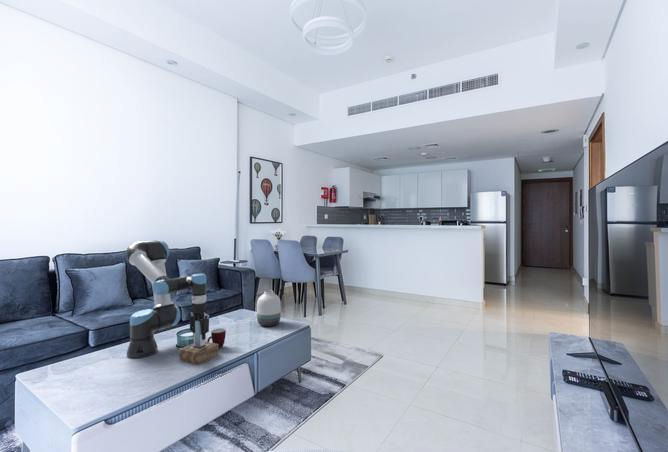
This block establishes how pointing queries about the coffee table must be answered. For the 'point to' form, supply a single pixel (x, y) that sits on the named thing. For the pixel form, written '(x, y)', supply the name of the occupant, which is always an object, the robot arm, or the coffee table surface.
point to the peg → (197, 334)
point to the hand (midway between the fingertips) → (199, 344)
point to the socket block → (199, 353)
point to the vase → (268, 309)
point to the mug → (218, 336)
